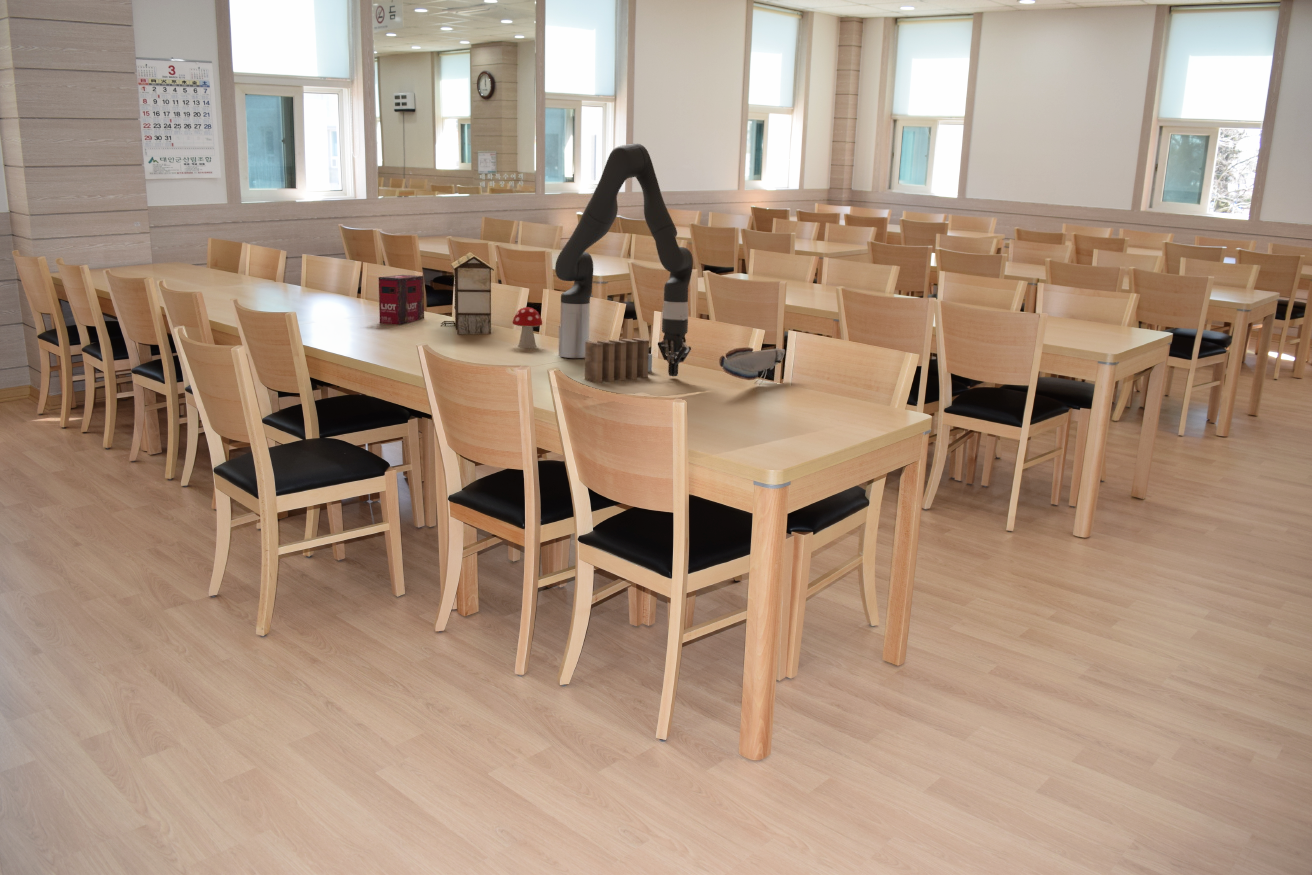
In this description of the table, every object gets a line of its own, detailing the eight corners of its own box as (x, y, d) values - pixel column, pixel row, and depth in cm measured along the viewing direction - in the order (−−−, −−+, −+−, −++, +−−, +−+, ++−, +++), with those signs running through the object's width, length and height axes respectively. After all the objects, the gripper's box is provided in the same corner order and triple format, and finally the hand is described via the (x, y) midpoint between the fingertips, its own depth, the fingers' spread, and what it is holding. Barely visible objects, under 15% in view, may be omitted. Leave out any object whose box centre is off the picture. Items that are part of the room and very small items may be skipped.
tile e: (584, 379, 291) (585, 341, 288) (589, 378, 292) (590, 341, 289) (596, 382, 286) (597, 344, 284) (601, 382, 287) (602, 344, 285)
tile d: (596, 378, 293) (597, 340, 291) (601, 377, 294) (602, 340, 292) (608, 381, 289) (609, 343, 286) (613, 381, 290) (614, 343, 287)
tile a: (630, 374, 301) (631, 338, 299) (635, 374, 302) (636, 338, 300) (643, 378, 297) (644, 341, 294) (647, 377, 298) (649, 340, 295)
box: (404, 326, 390) (403, 274, 385) (424, 328, 387) (423, 276, 383) (379, 331, 375) (378, 277, 370) (400, 333, 372) (399, 278, 367)
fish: (722, 395, 275) (725, 352, 272) (704, 391, 279) (706, 349, 276) (794, 382, 299) (797, 343, 296) (776, 379, 303) (779, 340, 300)
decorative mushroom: (544, 351, 342) (544, 306, 338) (539, 354, 333) (539, 309, 330) (515, 349, 342) (515, 305, 339) (509, 353, 334) (509, 308, 331)
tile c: (608, 377, 296) (609, 340, 293) (612, 376, 297) (614, 339, 295) (620, 380, 291) (621, 342, 289) (625, 379, 293) (626, 342, 290)
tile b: (619, 376, 299) (620, 339, 296) (624, 375, 300) (625, 338, 297) (631, 379, 294) (632, 341, 292) (636, 378, 295) (637, 341, 293)
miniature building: (494, 342, 358) (494, 256, 352) (440, 341, 354) (438, 255, 347) (488, 332, 382) (488, 252, 375) (438, 332, 378) (437, 251, 371)
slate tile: (646, 374, 304) (624, 369, 312) (651, 374, 305) (629, 368, 313) (647, 354, 302) (625, 349, 311) (652, 354, 304) (629, 349, 312)
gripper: (650, 315, 295) (649, 373, 298) (680, 320, 285) (677, 380, 288) (670, 314, 299) (668, 371, 303) (699, 318, 289) (697, 378, 293)
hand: (673, 375), depth 296 cm, fingers closed
